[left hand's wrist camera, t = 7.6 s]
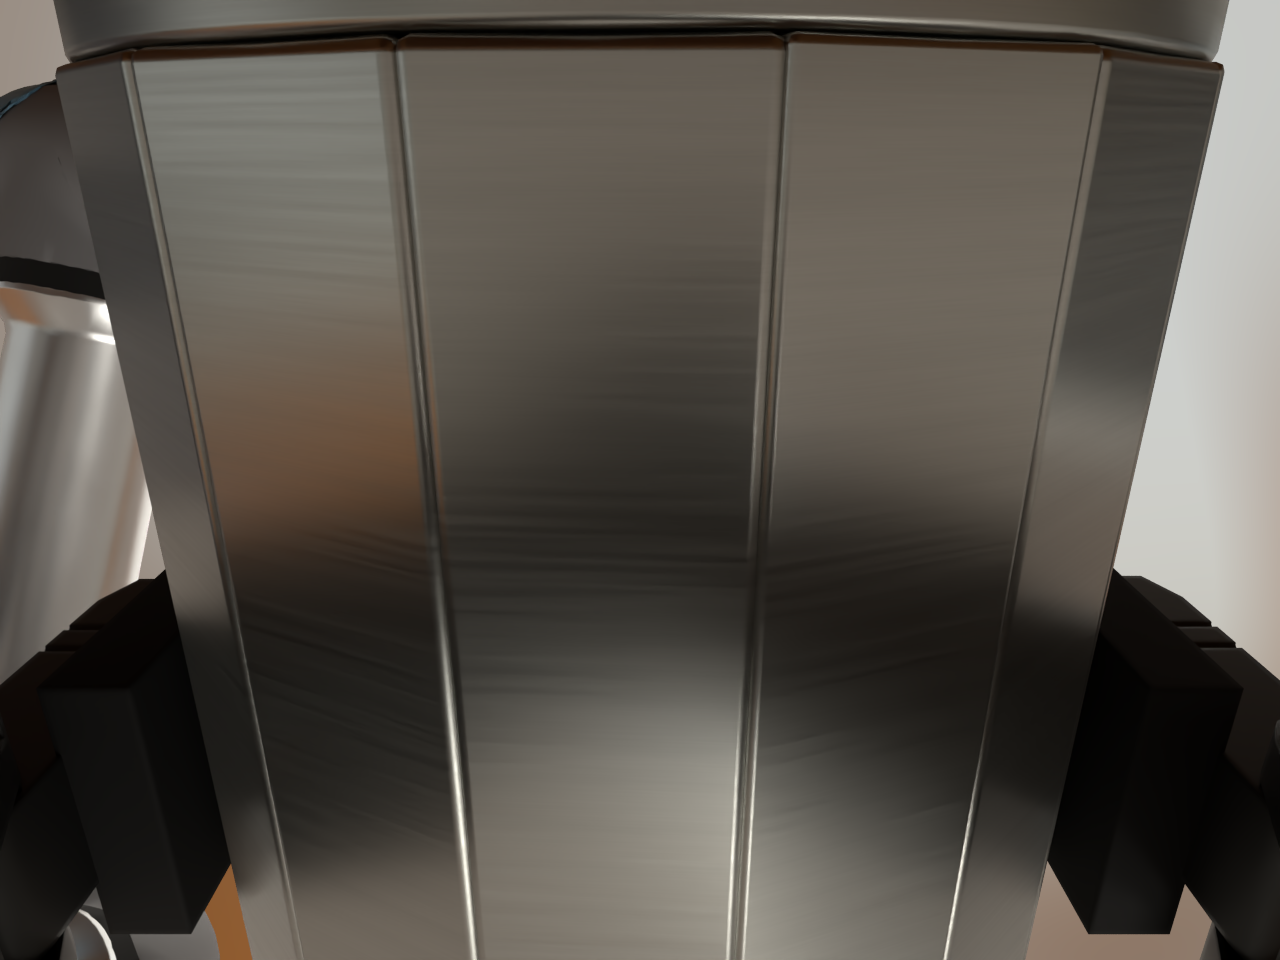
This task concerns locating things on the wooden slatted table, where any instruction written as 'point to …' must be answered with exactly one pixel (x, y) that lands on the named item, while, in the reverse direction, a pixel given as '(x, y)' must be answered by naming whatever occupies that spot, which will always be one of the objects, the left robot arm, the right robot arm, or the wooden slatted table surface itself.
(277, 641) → the cup
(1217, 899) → the left robot arm
